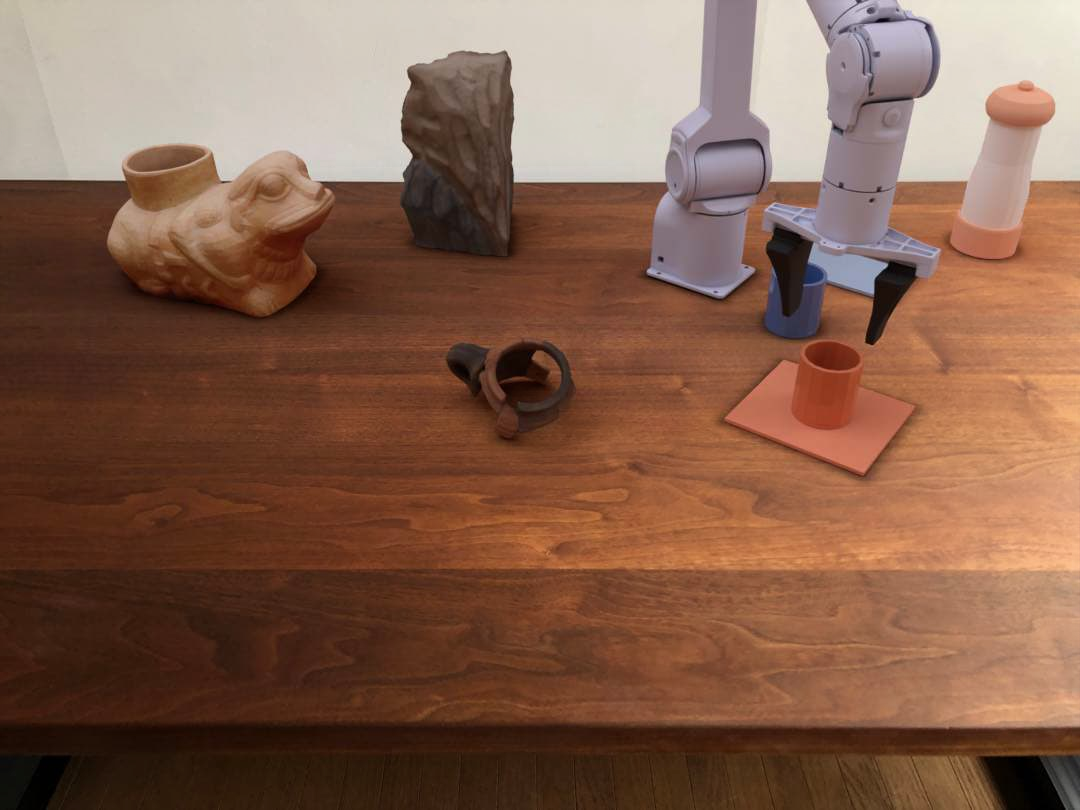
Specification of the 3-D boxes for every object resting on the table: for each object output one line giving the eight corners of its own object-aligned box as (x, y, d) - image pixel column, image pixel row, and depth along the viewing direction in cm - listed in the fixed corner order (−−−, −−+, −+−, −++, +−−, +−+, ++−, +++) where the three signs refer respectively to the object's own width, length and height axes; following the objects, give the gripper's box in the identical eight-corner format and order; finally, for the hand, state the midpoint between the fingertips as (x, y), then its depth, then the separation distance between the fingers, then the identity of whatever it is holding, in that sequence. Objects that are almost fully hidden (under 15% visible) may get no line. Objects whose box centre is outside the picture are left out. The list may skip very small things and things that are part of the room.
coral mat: (723, 421, 94) (724, 417, 94) (783, 362, 102) (783, 359, 102) (863, 476, 88) (863, 472, 87) (914, 409, 96) (915, 405, 95)
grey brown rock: (400, 246, 122) (386, 73, 110) (434, 202, 132) (425, 39, 120) (506, 258, 119) (503, 83, 108) (532, 212, 129) (532, 47, 118)
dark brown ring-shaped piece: (577, 384, 99) (593, 343, 92) (548, 472, 95) (562, 436, 88) (456, 343, 100) (463, 298, 92) (422, 429, 95) (426, 389, 88)
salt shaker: (1021, 240, 124) (1070, 78, 113) (1007, 265, 119) (1056, 97, 108) (958, 226, 127) (999, 66, 116) (942, 249, 122) (983, 84, 111)
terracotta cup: (780, 415, 94) (789, 359, 91) (806, 388, 98) (816, 332, 94) (837, 437, 91) (849, 379, 88) (861, 408, 95) (874, 352, 92)
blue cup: (754, 327, 107) (762, 275, 104) (778, 306, 111) (786, 255, 107) (804, 344, 105) (813, 291, 101) (826, 322, 108) (836, 270, 105)
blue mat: (778, 268, 118) (778, 265, 118) (819, 233, 125) (819, 230, 125) (890, 302, 111) (891, 299, 111) (927, 264, 119) (927, 260, 119)
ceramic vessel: (306, 332, 106) (286, 193, 97) (88, 290, 113) (51, 157, 104) (368, 271, 117) (355, 140, 108) (165, 236, 124) (138, 111, 115)
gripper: (753, 172, 84) (734, 318, 92) (932, 220, 77) (894, 373, 85) (792, 145, 89) (770, 286, 97) (963, 188, 82) (925, 337, 90)
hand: (831, 325), depth 91 cm, fingers open, 7 cm apart
